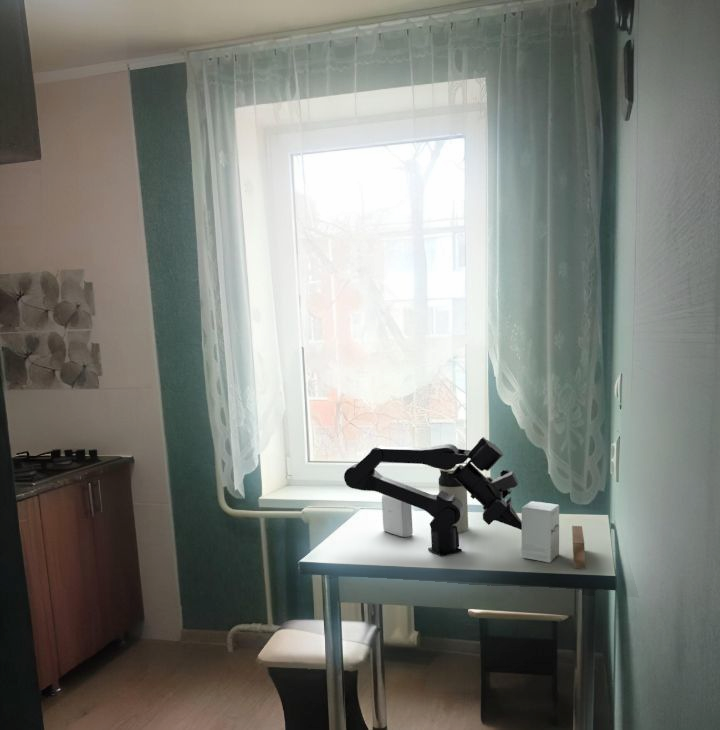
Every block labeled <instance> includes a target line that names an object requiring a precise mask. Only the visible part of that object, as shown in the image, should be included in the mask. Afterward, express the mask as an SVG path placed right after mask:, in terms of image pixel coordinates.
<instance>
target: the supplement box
mask: <svg viewBox="0 0 720 730" xmlns="http://www.w3.org/2000/svg"><path fill="white" fill-rule="evenodd" d="M521 521H522V530H521V558H524V559H527V560H528V559H529V560H535V561H539V562H544V563H551V562H552V561H553V560H554V559H556V557H557V556H558V555H560V505H559V504H556V503H549V502H542V501H529V502H528V503H526V504H525V505H523V506H522V507H521Z"/></svg>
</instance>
